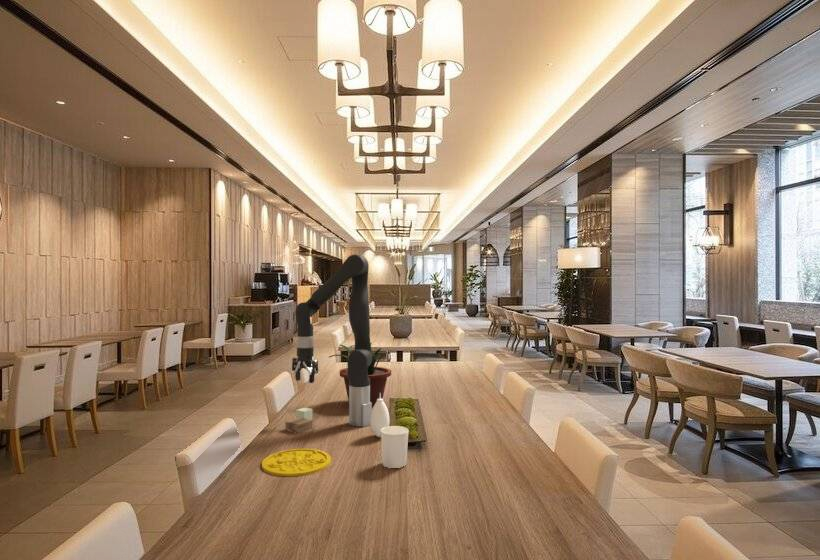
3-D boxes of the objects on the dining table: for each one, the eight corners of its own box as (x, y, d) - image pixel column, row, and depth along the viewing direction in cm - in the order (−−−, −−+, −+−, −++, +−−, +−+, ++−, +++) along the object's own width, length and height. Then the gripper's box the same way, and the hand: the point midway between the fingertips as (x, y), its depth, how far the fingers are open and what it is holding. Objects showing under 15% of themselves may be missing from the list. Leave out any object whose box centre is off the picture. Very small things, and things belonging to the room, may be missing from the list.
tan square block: (312, 429, 208) (312, 420, 208) (298, 434, 201) (298, 424, 201) (299, 426, 212) (299, 417, 212) (285, 430, 205) (285, 421, 205)
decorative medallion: (260, 480, 155) (260, 474, 155) (262, 455, 177) (262, 449, 177) (334, 473, 161) (334, 467, 161) (327, 449, 184) (327, 444, 184)
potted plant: (388, 414, 231) (389, 351, 231) (321, 413, 232) (322, 350, 232) (392, 396, 266) (393, 342, 266) (334, 396, 266) (334, 341, 266)
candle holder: (374, 466, 166) (375, 431, 166) (389, 457, 175) (389, 424, 175) (399, 472, 162) (400, 436, 162) (413, 462, 170) (413, 428, 170)
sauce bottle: (386, 440, 193) (387, 395, 193) (367, 438, 195) (368, 394, 195) (391, 434, 201) (391, 391, 201) (373, 433, 203) (373, 390, 203)
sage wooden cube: (312, 420, 221) (312, 409, 221) (304, 422, 217) (304, 411, 217) (304, 418, 224) (304, 407, 224) (296, 420, 219) (296, 409, 219)
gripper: (322, 346, 219) (321, 382, 219) (300, 343, 227) (299, 378, 227) (310, 348, 213) (310, 385, 213) (288, 345, 221) (287, 381, 221)
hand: (304, 381), depth 220 cm, fingers open, 8 cm apart
